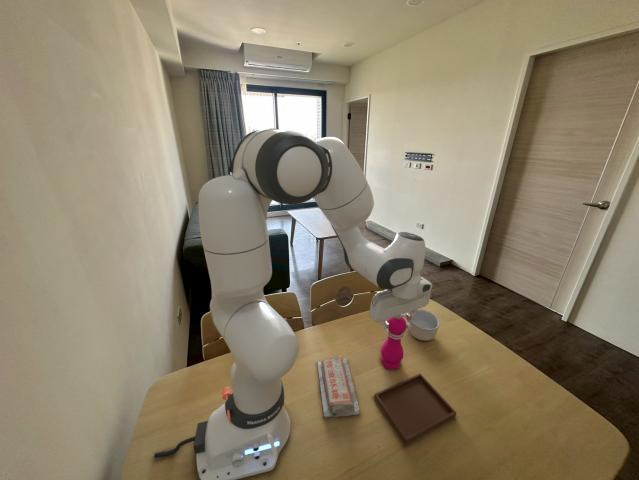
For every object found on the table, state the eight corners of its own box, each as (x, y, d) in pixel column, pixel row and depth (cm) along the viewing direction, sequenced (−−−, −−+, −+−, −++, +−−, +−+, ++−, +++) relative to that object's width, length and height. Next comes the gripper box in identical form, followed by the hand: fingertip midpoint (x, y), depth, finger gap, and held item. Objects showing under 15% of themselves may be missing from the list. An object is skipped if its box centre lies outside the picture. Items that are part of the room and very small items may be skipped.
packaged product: (361, 403, 66) (324, 407, 65) (360, 415, 68) (324, 419, 67) (347, 350, 83) (317, 352, 82) (346, 361, 85) (317, 363, 84)
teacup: (437, 331, 98) (441, 315, 95) (433, 350, 90) (437, 332, 87) (402, 318, 105) (404, 303, 102) (394, 334, 96) (397, 317, 93)
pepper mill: (399, 354, 88) (407, 307, 80) (403, 372, 81) (413, 322, 73) (378, 352, 88) (384, 305, 81) (380, 370, 82) (388, 320, 74)
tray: (405, 445, 62) (406, 441, 61) (373, 398, 73) (374, 393, 72) (455, 417, 68) (456, 412, 67) (419, 377, 79) (420, 373, 78)
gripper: (380, 300, 67) (375, 340, 72) (437, 283, 74) (429, 320, 80) (366, 287, 72) (363, 326, 77) (421, 273, 80) (414, 309, 85)
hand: (397, 323), depth 79 cm, fingers open, 8 cm apart
